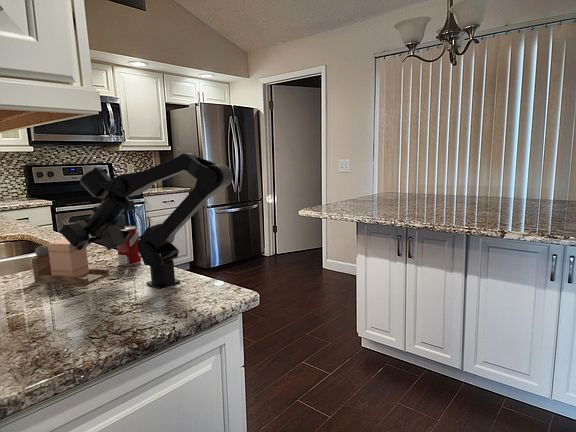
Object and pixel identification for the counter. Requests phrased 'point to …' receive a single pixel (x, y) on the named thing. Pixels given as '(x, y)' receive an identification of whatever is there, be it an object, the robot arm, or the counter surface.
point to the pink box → (67, 259)
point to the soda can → (129, 249)
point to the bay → (44, 275)
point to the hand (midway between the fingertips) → (79, 248)
